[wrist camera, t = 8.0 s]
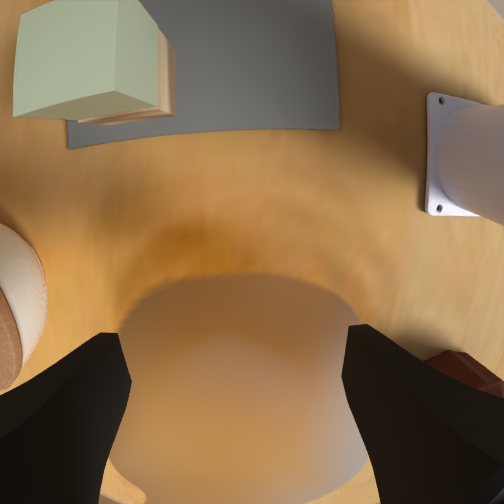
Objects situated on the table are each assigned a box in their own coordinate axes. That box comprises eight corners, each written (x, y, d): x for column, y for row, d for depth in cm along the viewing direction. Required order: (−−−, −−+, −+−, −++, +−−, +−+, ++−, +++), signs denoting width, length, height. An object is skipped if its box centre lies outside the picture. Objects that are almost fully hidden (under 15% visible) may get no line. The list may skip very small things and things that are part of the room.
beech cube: (175, 50, 15) (158, 27, 11) (176, 116, 16) (158, 109, 13) (109, 61, 15) (79, 45, 11) (110, 125, 16) (78, 122, 12)
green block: (158, 25, 11) (121, -21, 6) (157, 106, 12) (115, 90, 8) (79, 43, 11) (20, 14, 6) (77, 120, 12) (12, 117, 8)
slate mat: (323, -41, 13) (325, -44, 13) (337, 129, 17) (339, 129, 17) (78, -15, 13) (75, -18, 13) (71, 149, 17) (68, 149, 17)
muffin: (472, 401, 26) (514, 464, 16) (381, 443, 27) (410, 520, 17) (485, 315, 22) (554, 382, 12) (374, 365, 23) (423, 464, 13)
